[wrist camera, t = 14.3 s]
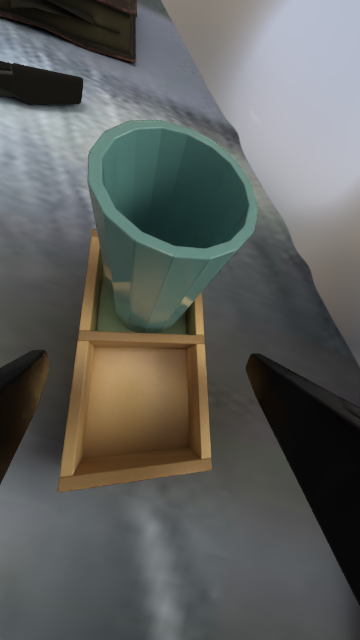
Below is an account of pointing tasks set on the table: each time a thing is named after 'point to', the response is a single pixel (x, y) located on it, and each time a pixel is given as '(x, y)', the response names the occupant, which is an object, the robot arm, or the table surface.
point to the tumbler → (165, 217)
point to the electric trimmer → (39, 85)
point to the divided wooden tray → (134, 395)
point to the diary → (82, 22)
